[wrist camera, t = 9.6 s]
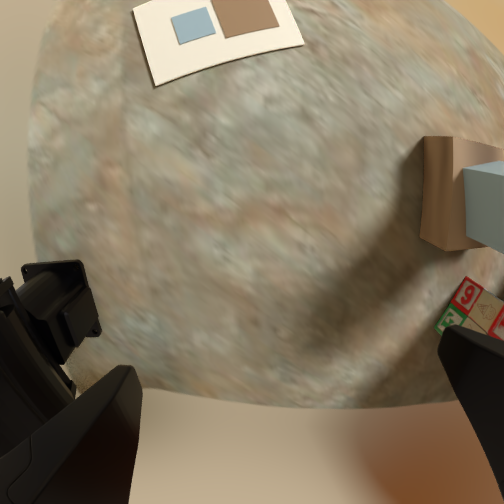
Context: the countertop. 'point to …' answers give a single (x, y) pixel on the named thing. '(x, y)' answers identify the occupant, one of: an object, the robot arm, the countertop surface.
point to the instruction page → (211, 33)
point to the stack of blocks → (474, 311)
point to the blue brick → (485, 203)
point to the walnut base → (450, 189)
